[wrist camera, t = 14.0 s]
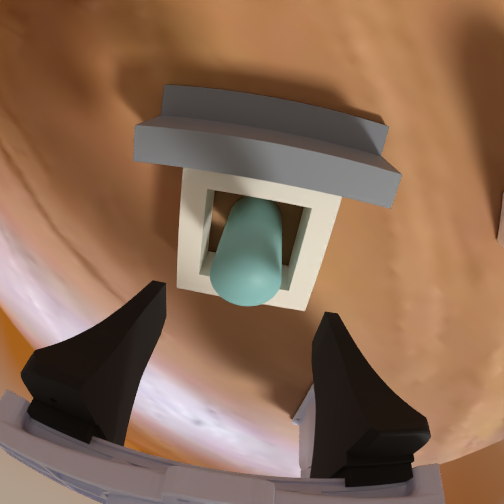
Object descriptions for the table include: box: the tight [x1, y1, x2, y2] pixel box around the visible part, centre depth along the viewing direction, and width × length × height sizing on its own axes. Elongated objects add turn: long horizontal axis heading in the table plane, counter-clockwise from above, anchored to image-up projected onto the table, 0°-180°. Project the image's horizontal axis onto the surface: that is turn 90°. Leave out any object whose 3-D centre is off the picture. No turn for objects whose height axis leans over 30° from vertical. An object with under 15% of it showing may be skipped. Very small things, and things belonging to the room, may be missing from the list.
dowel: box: [210, 196, 282, 306], centre depth 19 cm, size 4×4×7 cm
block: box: [177, 167, 342, 311], centre depth 20 cm, size 9×9×3 cm
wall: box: [133, 84, 402, 209], centre depth 16 cm, size 4×14×4 cm, turn 81°
